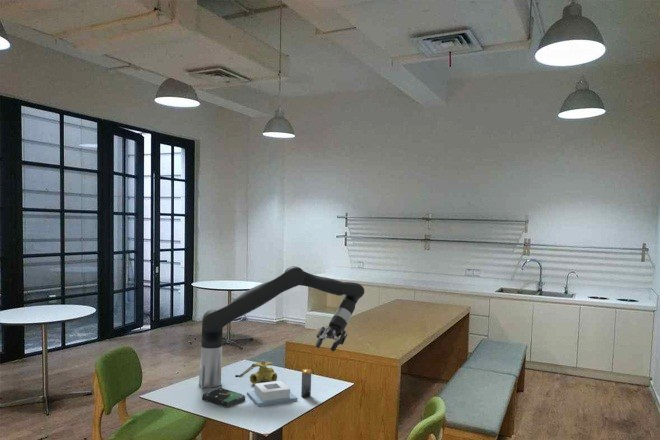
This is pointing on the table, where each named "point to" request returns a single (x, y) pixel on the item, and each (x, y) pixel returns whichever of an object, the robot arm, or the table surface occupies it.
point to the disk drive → (223, 397)
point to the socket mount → (271, 393)
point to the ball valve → (263, 373)
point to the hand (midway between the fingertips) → (324, 348)
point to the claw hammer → (245, 371)
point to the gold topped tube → (306, 383)
